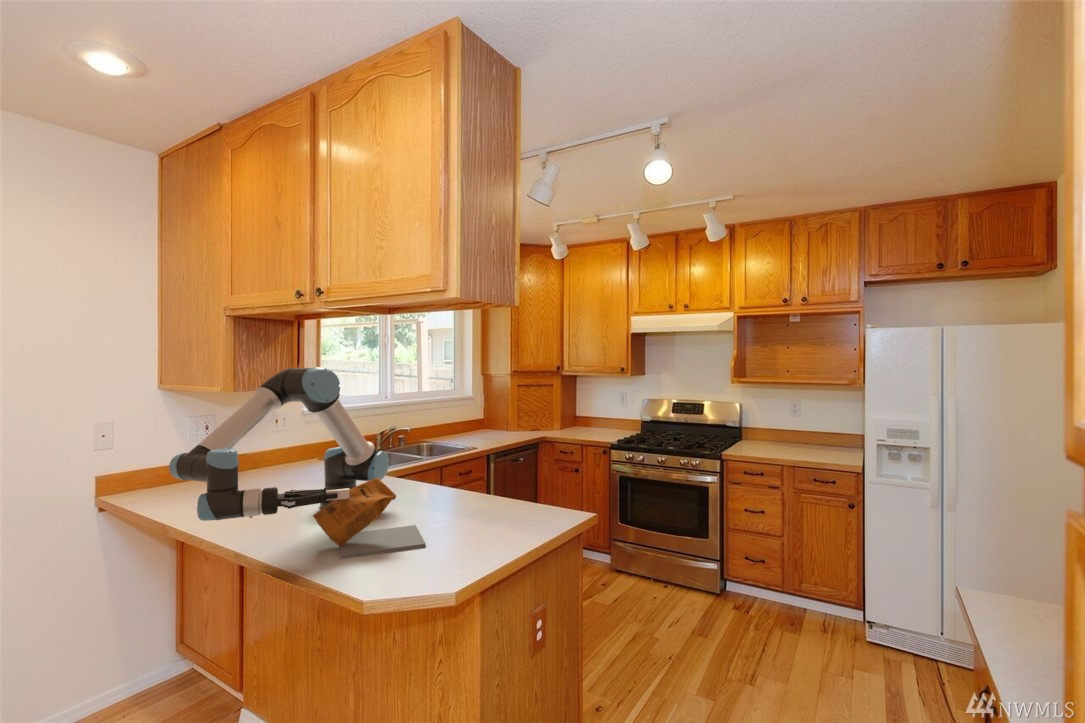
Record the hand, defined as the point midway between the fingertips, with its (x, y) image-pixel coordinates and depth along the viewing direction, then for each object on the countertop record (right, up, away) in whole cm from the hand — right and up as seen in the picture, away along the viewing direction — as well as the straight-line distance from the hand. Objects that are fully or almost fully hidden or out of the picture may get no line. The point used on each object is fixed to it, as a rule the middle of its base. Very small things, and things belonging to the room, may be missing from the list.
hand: (349, 493), depth 158 cm
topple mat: (+9, -16, +3) cm, 19 cm away
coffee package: (-6, -11, -3) cm, 13 cm away
